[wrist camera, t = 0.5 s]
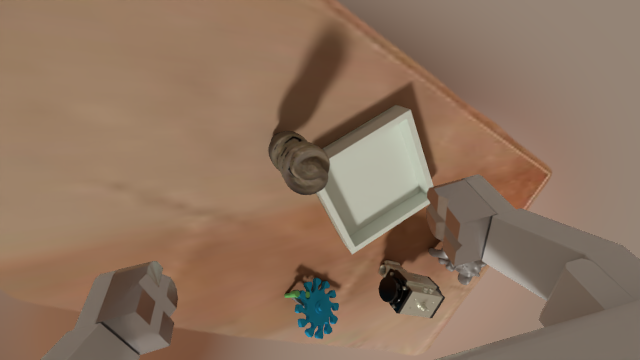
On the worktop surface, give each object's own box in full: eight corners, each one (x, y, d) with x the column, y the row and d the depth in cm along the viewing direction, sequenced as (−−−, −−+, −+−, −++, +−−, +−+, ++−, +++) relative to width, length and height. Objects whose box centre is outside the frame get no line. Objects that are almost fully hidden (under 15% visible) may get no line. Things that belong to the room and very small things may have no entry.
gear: (347, 295, 62) (331, 349, 56) (325, 297, 66) (308, 347, 59) (309, 263, 58) (287, 318, 51) (288, 267, 62) (265, 318, 55)
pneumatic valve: (403, 280, 69) (441, 323, 58) (360, 272, 63) (394, 317, 53) (416, 259, 67) (457, 299, 57) (373, 248, 62) (410, 290, 52)
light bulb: (257, 122, 45) (285, 155, 32) (295, 116, 47) (336, 146, 34) (262, 160, 47) (290, 205, 34) (298, 153, 49) (338, 194, 36)
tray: (299, 162, 50) (307, 171, 46) (395, 104, 52) (410, 109, 48) (342, 241, 59) (352, 254, 55) (422, 189, 61) (437, 198, 57)
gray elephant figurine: (443, 221, 67) (469, 241, 60) (480, 236, 72) (508, 256, 65) (420, 258, 69) (443, 281, 62) (457, 270, 74) (482, 293, 67)
